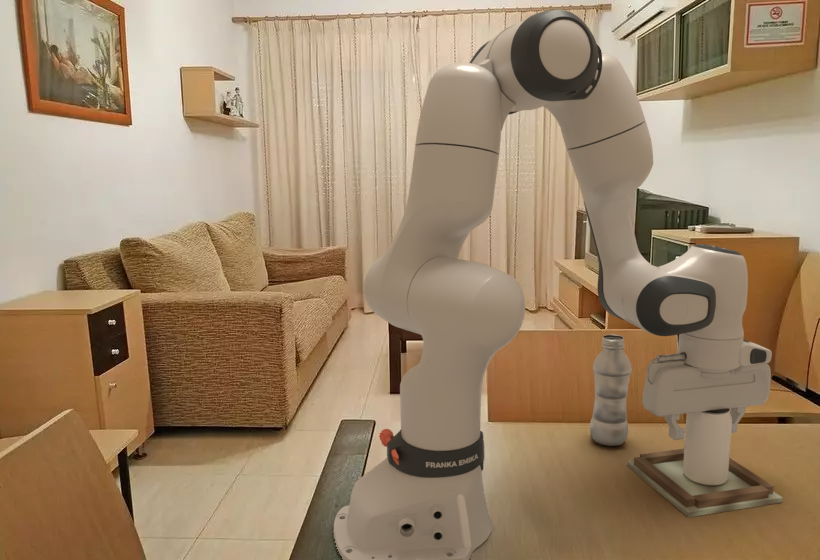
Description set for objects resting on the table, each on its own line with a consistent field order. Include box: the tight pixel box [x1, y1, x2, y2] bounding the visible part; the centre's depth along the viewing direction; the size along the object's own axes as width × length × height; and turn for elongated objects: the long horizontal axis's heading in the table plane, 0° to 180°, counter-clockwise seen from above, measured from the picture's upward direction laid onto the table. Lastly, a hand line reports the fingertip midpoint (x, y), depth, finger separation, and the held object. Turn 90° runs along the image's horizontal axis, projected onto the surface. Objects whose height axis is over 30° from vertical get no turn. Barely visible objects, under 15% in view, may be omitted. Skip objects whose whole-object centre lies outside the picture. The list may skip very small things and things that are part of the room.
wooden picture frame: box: [626, 448, 783, 518], centre depth 99 cm, size 16×16×2 cm
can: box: [683, 408, 732, 486], centre depth 98 cm, size 6×6×12 cm
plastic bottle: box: [589, 334, 633, 447], centre depth 112 cm, size 6×7×20 cm
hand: (702, 434), depth 98 cm, fingers open, 8 cm apart
